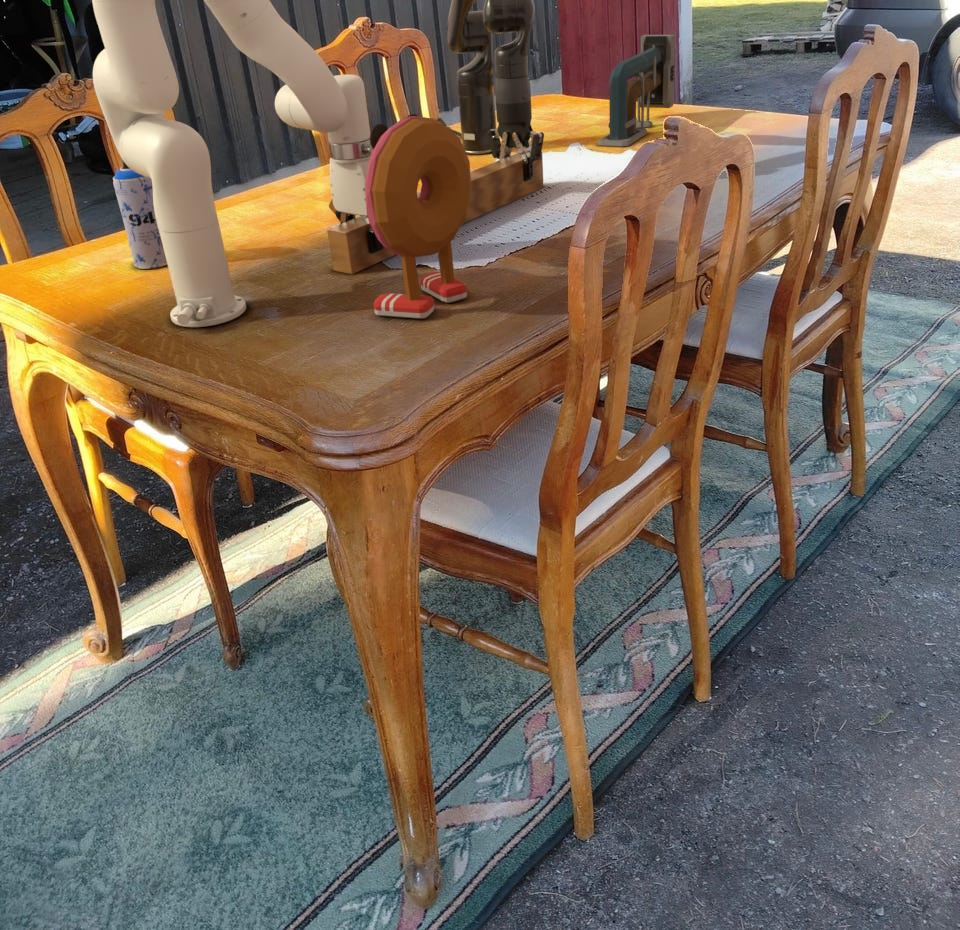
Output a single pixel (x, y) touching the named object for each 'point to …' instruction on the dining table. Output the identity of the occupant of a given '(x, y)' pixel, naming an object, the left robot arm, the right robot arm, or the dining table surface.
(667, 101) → the clamp
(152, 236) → the aerosol can
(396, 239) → the toy
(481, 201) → the post
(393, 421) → the dining table surface
